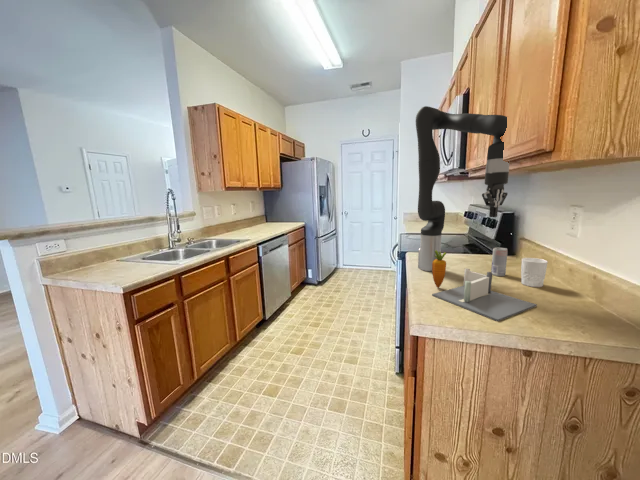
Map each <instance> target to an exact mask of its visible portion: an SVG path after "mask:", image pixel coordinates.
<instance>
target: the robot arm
mask: <svg viewBox="0 0 640 480" xmlns="http://www.w3.org/2000/svg"><path fill="white" fill-rule="evenodd" d="M415 115H416V116H415V128H416V129H415V130H416V137H417V153H418V154H417V155H418V162H417V163H418V199H417V200H418V201H417V214H418V218H419V219H421V221H425V222H427V223H426V224H425V226H423V227H422V228H421V229H420V241H419V242H420V245H419V246H420V248H418V255H417V259H418V260H417V268H418V269H419V270H422V271H424V272H425V271H426V272H432V263H433V261H434V260H435V259H437V258H436V257H435V256H437V255H436V253H435V251H436V250H437V251H438V254H439V252H441V250H442V234H443V233H442V232H443V230H444V227H445V217H446V207H445V204H444V203H443V202H442V201H440V200H433V191H434V190H433V189H434V187H435V184H436V182H437V180H438V178H439V175H440V173H441V172H440V171H441V157H440V153H439V150H438V148H437V146H436V143H435V140H434V136H433V135H434V132H433V131H434V130H452V131H458V132H463V133H468V134H480V135H481V134H483V135H486V136H487V135H488V136H492V137H493V140H492V144H490V145H489V146H488V148H487V157H486V163H485V170H484V171H485V172H484V185H486V186H487V187H486V191H485V192H484V193H482V194H481V196H482V198H483V201H484V204H485V206H486V207H489V217H490V218H497V217H498V214H499V213H498V210H499V207H500V206H502V205H503V203H504V202H505V200H506V198H507V196H508V192H505V185H508V183H509V175H510V162H509V163H508V162H505V161H503V150H504V142H502V141H501V139H500V137H501V136H503V135H504V133H505V131H506V128H507V117H508V116H506V115H502V114H483V113H481V114H480V113H468V112H467V113H449V112H446V111H442V110H439V108H434V107H432V106H427V105H425V106H421V107H420V109H419V110H418V111H417V113H416V114H415ZM441 253H442V252H441Z"/></svg>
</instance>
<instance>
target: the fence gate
mask: <svg viewBox="0 0 640 480" xmlns="http://www.w3.org/2000/svg"><path fill="white" fill-rule="evenodd" d="M488 287H489V277H483V278H480V279H477V280H474V281H471V282H470V281H465V289H464V301H465V302H470V301H471V300H473V299H476V298H478V297H481V296H483V295H485V294H488Z"/></svg>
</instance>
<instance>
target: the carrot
mask: <svg viewBox="0 0 640 480" xmlns="http://www.w3.org/2000/svg"><path fill="white" fill-rule="evenodd" d="M435 253H436V255H437V256H435V257H436V258H437V259H435V260H434V261H433V263H432V271H431V272H432V279H433V282H434V285H435V286H436V288H437V289H439V288H440V287H441V286H442V284H443V282H444V280H445V275H446V269H447V261H446V260H444V257H445V256H446V254H447V252H443V254H442V252H439V254H438V251H437V250H436V251H435Z"/></svg>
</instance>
